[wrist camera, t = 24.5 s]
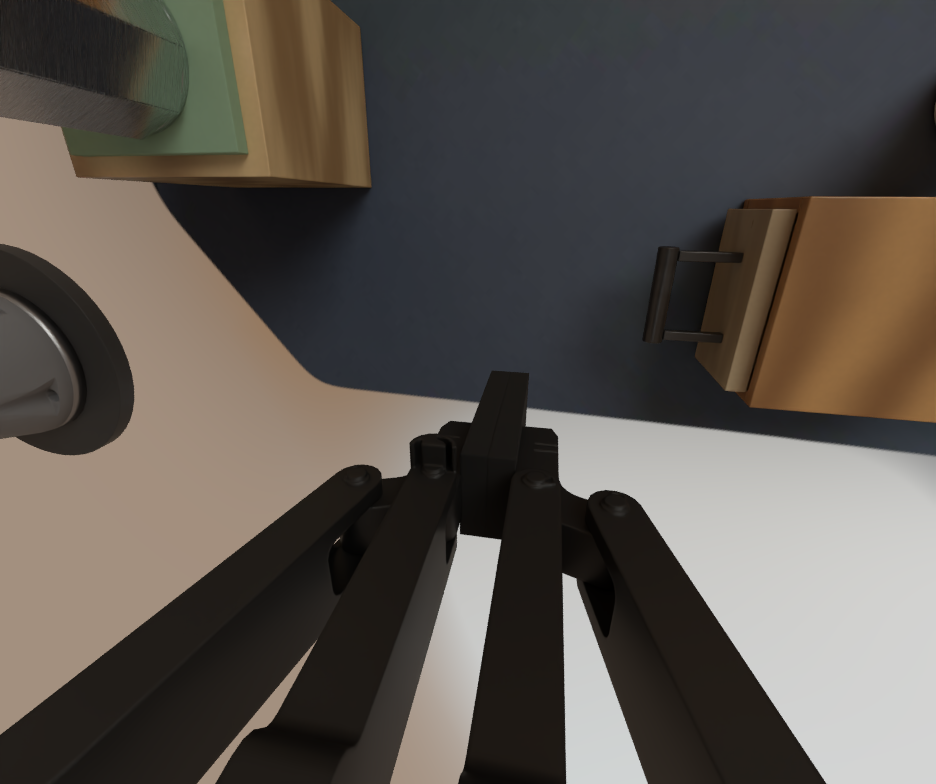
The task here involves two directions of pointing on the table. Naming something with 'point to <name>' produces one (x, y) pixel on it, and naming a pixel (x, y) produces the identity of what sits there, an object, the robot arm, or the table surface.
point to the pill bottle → (935, 113)
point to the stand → (278, 106)
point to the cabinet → (852, 310)
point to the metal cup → (92, 65)
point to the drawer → (728, 292)
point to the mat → (188, 96)
